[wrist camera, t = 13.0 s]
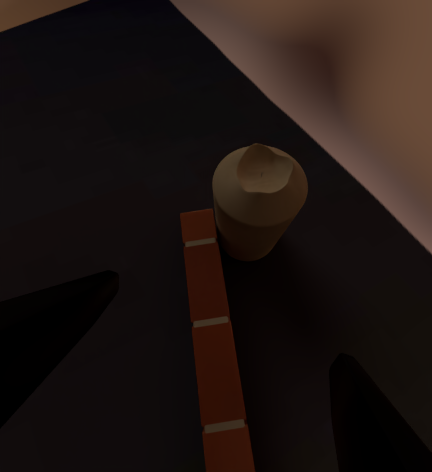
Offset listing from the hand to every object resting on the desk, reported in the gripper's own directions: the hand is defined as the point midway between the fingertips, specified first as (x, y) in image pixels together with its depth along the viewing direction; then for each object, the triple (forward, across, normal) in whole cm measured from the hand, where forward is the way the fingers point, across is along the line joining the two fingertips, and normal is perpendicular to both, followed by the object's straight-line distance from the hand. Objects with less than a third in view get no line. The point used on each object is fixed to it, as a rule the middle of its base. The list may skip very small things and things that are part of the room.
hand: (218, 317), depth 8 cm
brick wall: (+5, -1, +9) cm, 11 cm away
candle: (+13, 0, +2) cm, 13 cm away
